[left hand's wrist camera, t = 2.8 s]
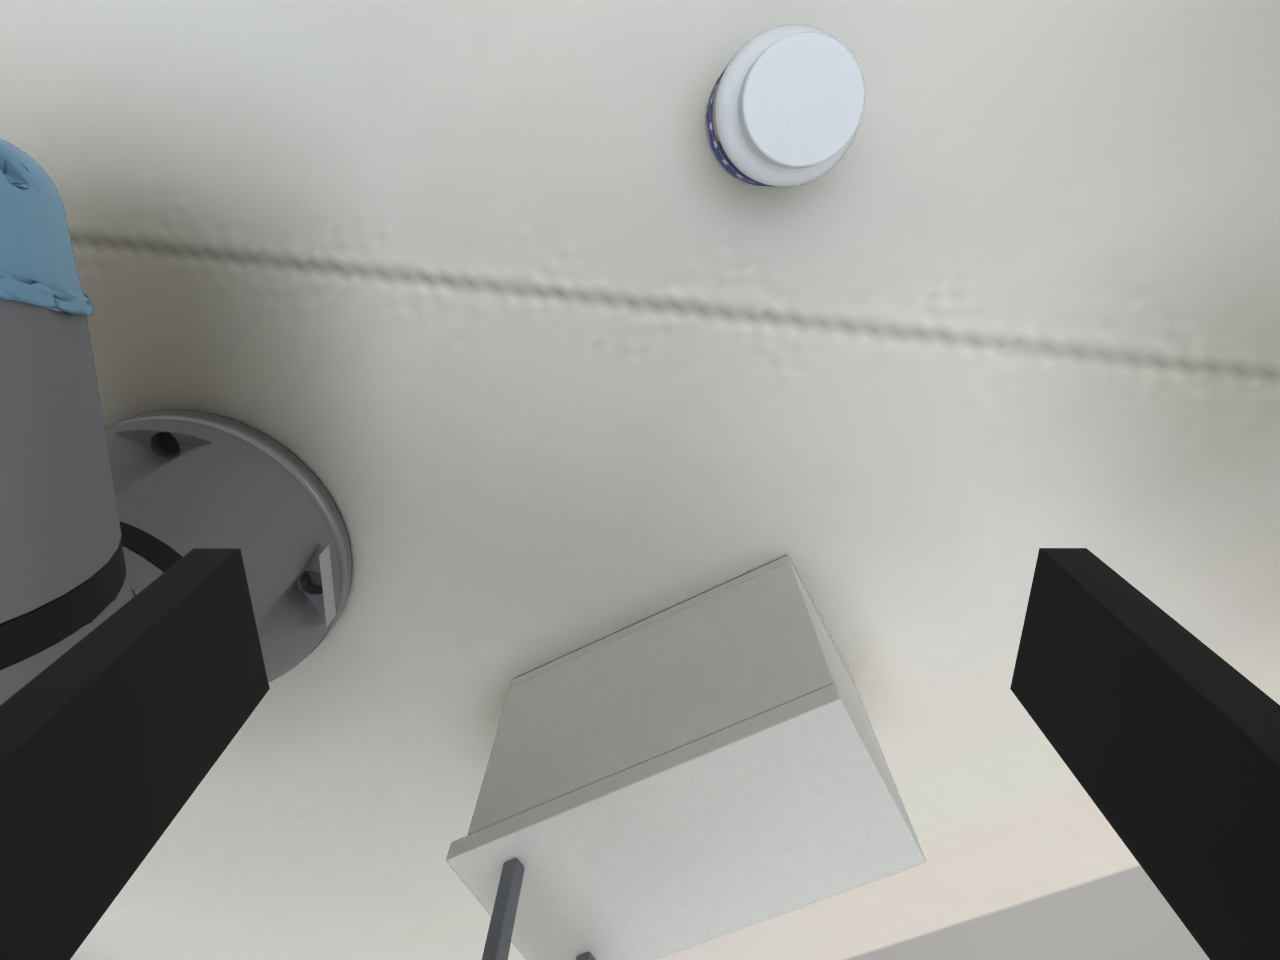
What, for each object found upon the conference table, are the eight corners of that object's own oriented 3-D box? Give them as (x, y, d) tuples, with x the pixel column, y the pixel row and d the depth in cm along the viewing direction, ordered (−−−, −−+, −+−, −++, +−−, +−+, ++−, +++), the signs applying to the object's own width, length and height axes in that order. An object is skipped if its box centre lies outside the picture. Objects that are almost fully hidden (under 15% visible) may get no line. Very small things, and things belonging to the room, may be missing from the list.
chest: (591, 793, 46) (572, 969, 36) (511, 679, 44) (466, 834, 33) (854, 684, 43) (918, 842, 33) (787, 554, 40) (834, 681, 30)
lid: (558, 975, 36) (530, 1204, 28) (451, 841, 33) (385, 1053, 25) (918, 843, 33) (1006, 1058, 25) (834, 682, 30) (901, 866, 22)
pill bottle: (683, 92, 33) (693, 59, 24) (797, 26, 32) (848, -31, 23) (736, 209, 34) (763, 216, 26) (846, 149, 33) (910, 137, 25)
